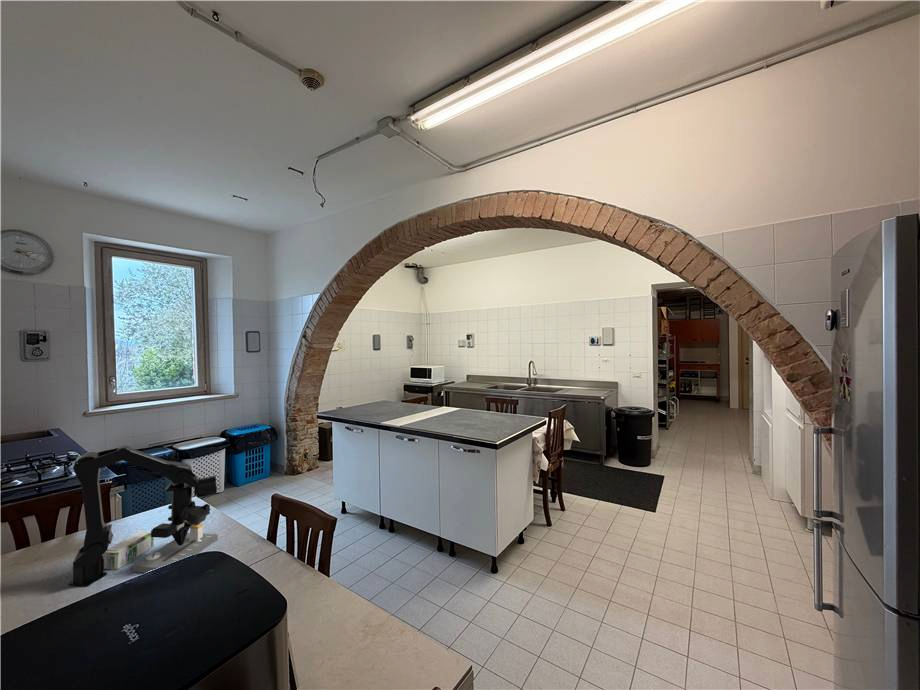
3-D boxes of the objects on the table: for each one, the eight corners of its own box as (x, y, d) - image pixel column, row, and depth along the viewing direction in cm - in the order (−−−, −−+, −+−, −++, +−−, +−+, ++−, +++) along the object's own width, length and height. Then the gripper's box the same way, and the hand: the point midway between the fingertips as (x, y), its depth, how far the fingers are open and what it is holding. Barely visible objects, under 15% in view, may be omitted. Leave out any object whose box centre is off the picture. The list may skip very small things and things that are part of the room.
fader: (197, 540, 138) (197, 527, 138) (189, 539, 138) (189, 526, 138) (203, 536, 141) (203, 523, 141) (195, 536, 141) (195, 523, 141)
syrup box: (154, 546, 138) (118, 569, 124) (139, 545, 138) (100, 569, 124) (155, 530, 138) (118, 552, 124) (139, 530, 138) (101, 552, 124)
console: (168, 574, 121) (168, 565, 121) (131, 572, 122) (131, 563, 122) (217, 539, 143) (217, 531, 143) (185, 537, 144) (185, 530, 144)
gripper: (181, 513, 123) (180, 561, 123) (221, 491, 141) (221, 533, 141) (149, 511, 124) (148, 559, 123) (194, 490, 142) (193, 531, 142)
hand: (180, 545), depth 133 cm, fingers closed
